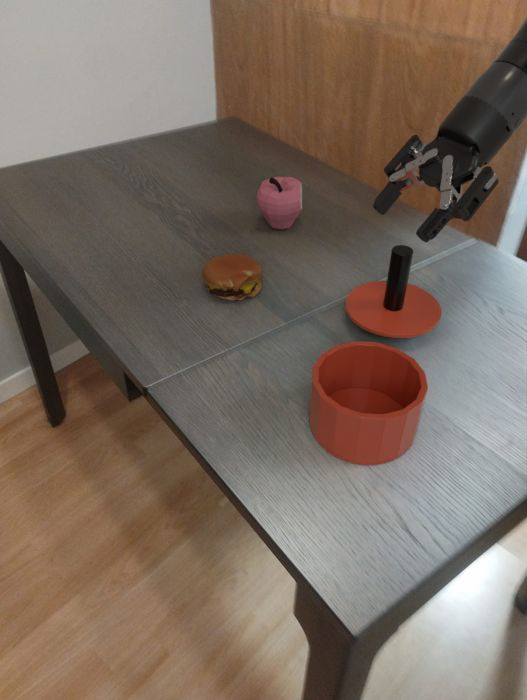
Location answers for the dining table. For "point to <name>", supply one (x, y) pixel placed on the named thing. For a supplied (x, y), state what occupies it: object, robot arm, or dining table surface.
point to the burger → (232, 276)
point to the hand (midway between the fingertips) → (398, 224)
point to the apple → (280, 201)
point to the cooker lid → (394, 302)
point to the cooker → (366, 402)
